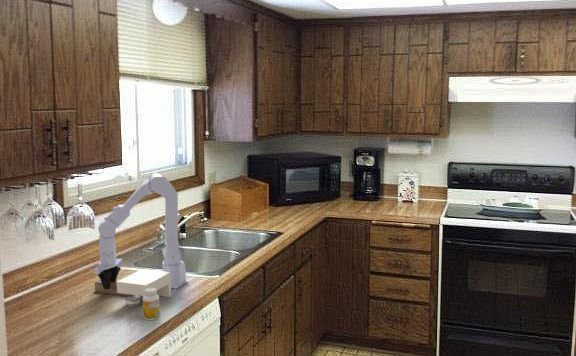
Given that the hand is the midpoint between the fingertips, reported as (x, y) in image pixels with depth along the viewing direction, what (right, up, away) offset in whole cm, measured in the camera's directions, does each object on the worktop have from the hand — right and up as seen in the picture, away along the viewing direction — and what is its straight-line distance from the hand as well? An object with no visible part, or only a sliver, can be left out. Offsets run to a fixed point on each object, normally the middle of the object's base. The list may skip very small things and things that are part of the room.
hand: (109, 287), depth 219 cm
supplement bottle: (+22, -5, -26) cm, 34 cm away
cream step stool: (+16, -3, -10) cm, 19 cm away
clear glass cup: (+12, -4, -13) cm, 18 cm away
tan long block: (+2, -2, -1) cm, 3 cm away
